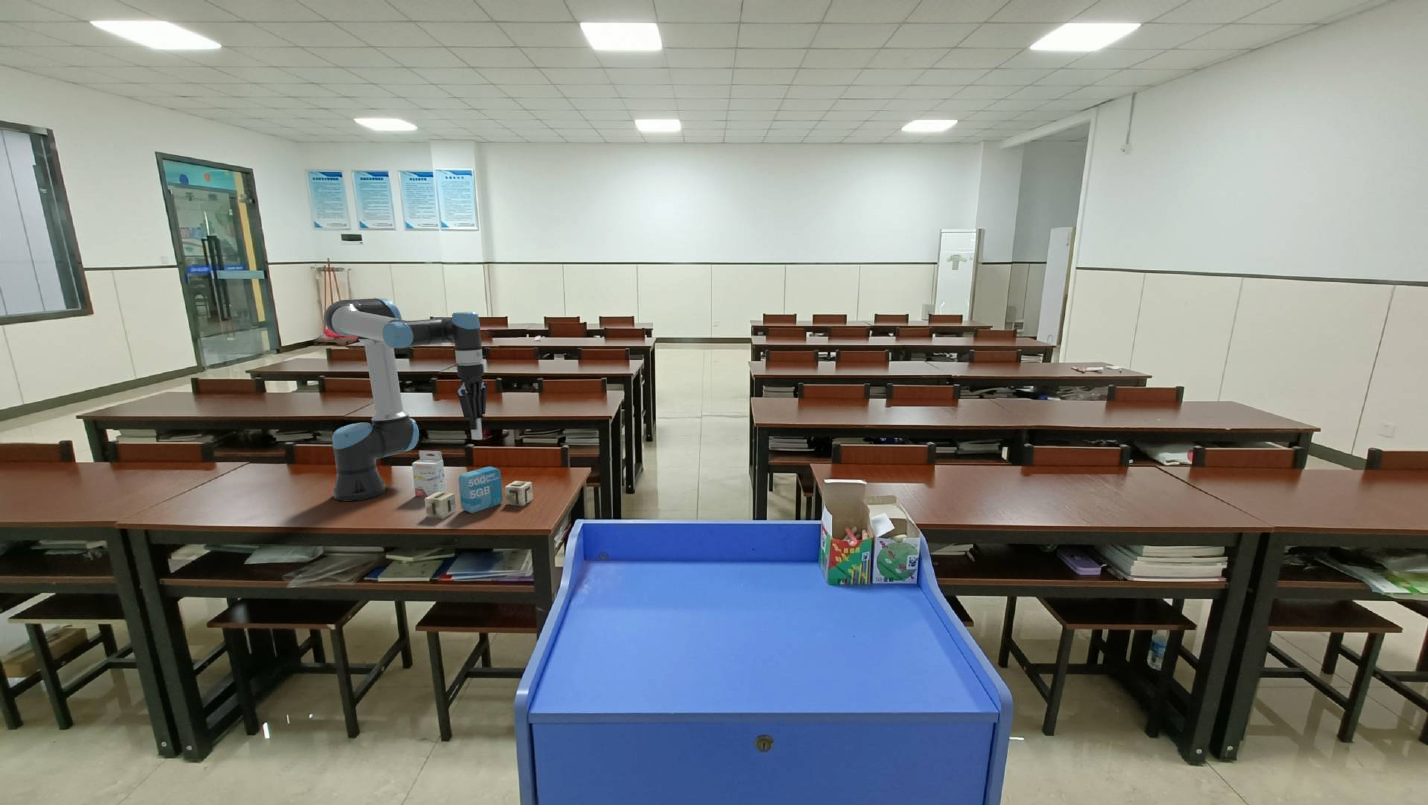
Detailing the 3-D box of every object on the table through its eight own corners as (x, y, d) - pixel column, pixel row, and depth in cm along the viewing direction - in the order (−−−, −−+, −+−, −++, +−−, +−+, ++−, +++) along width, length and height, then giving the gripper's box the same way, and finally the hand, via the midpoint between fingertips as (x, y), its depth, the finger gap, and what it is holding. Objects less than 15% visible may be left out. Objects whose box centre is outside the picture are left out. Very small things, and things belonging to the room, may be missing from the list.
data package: (468, 514, 191) (465, 477, 189) (461, 511, 194) (457, 474, 191) (503, 503, 200) (500, 467, 198) (495, 500, 203) (492, 465, 200)
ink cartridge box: (414, 496, 207) (409, 454, 204) (422, 491, 211) (418, 450, 208) (439, 497, 206) (434, 455, 203) (446, 492, 211) (442, 450, 208)
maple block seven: (506, 504, 199) (504, 486, 198) (516, 498, 205) (515, 480, 204) (523, 506, 198) (521, 487, 196) (533, 499, 204) (532, 481, 202)
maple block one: (426, 517, 189) (424, 498, 188) (439, 509, 195) (437, 491, 194) (443, 519, 188) (441, 499, 187) (456, 511, 194) (454, 492, 192)
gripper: (467, 366, 180) (474, 445, 185) (493, 360, 193) (500, 434, 197) (445, 366, 182) (453, 443, 187) (472, 360, 195) (479, 433, 199)
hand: (477, 438), depth 192 cm, fingers closed
